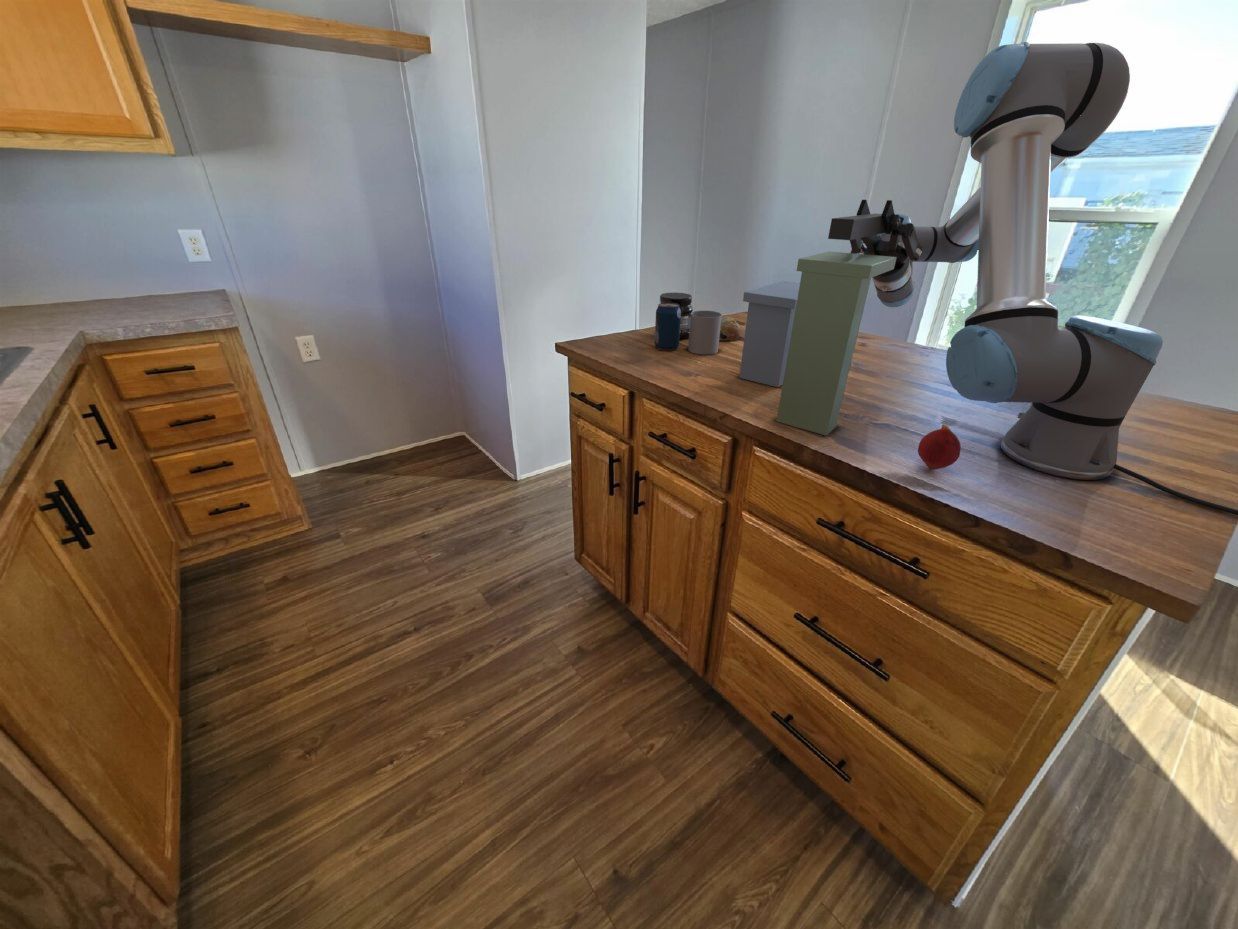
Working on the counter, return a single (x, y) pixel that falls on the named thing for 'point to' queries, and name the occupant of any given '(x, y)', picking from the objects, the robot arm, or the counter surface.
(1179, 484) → the counter surface
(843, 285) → the green capped pedestal
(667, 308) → the soda can
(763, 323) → the grey lidded box
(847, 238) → the black bar
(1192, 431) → the counter surface
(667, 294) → the supplement container
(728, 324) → the bread roll
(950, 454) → the onion
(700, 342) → the cup
